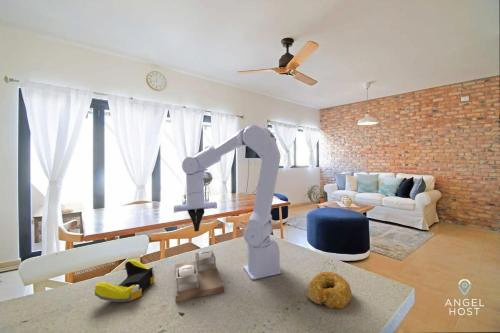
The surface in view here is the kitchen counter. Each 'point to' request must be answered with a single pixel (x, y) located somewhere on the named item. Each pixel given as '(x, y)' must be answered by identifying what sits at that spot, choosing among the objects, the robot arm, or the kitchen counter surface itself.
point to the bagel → (329, 290)
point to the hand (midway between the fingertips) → (196, 230)
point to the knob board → (198, 279)
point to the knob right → (205, 254)
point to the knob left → (186, 270)
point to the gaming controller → (127, 283)
